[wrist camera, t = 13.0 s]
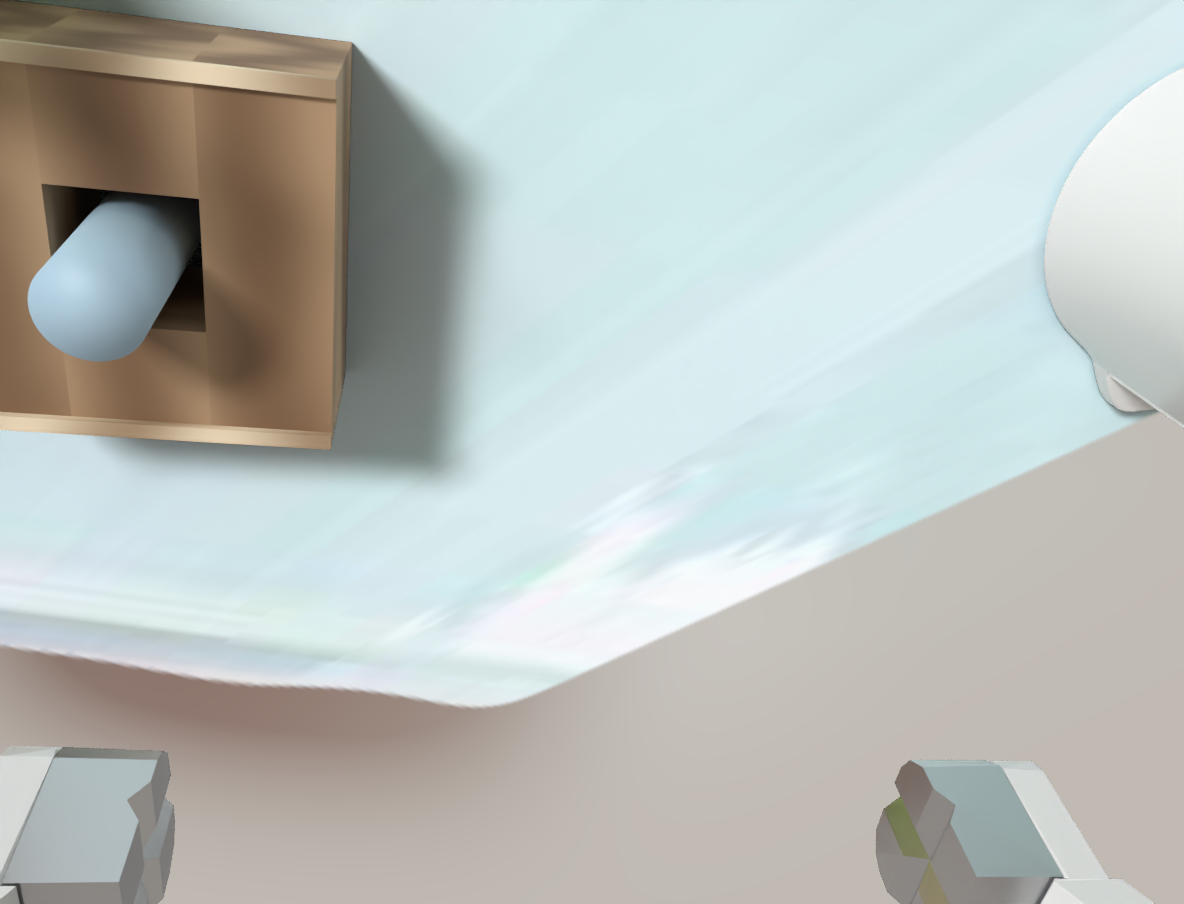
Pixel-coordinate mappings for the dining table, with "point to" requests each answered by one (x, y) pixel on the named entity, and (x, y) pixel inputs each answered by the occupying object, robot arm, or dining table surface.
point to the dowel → (114, 274)
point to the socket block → (227, 220)
